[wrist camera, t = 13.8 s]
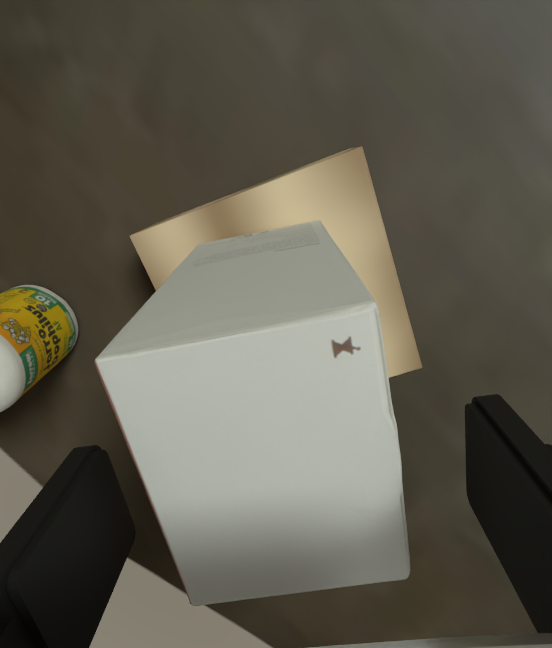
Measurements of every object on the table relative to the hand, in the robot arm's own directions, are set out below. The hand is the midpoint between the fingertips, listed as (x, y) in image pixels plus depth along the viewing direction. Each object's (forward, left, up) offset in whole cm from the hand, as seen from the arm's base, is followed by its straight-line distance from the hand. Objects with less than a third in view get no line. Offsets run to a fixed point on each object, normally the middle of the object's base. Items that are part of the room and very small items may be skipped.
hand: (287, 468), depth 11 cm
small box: (+1, 0, -12) cm, 12 cm away
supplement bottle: (+16, 0, -17) cm, 24 cm away
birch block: (0, 0, -17) cm, 17 cm away
